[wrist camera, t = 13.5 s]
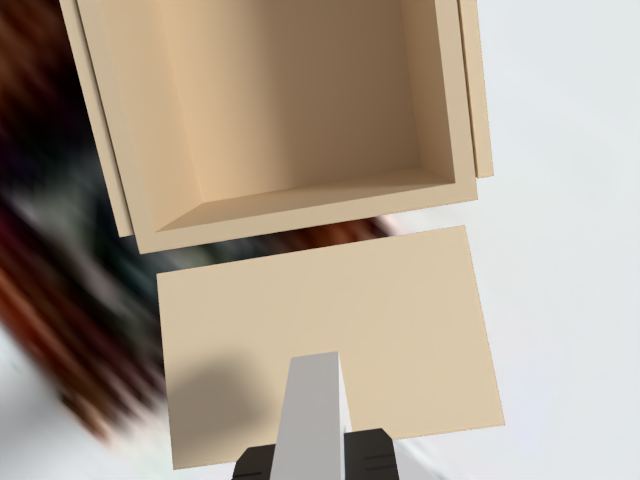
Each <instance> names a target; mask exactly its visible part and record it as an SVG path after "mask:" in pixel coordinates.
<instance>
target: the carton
mask: <svg viewBox="0 0 640 480" xmlns="http://www.w3.org/2000/svg"><path fill="white" fill-rule="evenodd" d="M59 1H60V5H61V9H62V13H63V17H64V21H65V25H66V28H67V32H68V36H69V40H70V44H71V48H72V52H73V56H74V60H75V64H76V68H77V72H78V76H79V80H80V84H81V87H82V91H83V95H84V99H85V103H86V107H87V111H88V115H89V119H90V123H91V127H92V131H93V135H94V139H95V142H96V146H97V150H98V154H99V158H100V162H101V166H102V170H103V174H104V178H105V182H106V186H107V190H108V194H109V198H110V201H111V205H112V209H113V213H114V217H115V221H116V225H117V229H118V233H119V237H124V236H130V235H134V234H135V236H136V240H137V244H138V248H139V252H140V254H145V253H151V252H157V251H163V250H169V249H176V248H182V247H188V246H194V245H200V244H207V243H213V242H219V241H225V240H231V239H238V238H244V237H250V236H256V235H262V234H269V233H275V232H281V231H287V230H293V229H299V228H306V227H312V226H318V225H324V224H330V223H337V222H343V221H349V220H355V219H361V218H368V217H374V216H380V215H386V214H392V213H399V212H405V211H411V210H417V209H423V208H430V207H436V206H442V205H448V204H454V203H461V202H467V201H473V200H478V195H477V186H476V177H477V178H484V177H490V176H494V172H493V162H492V152H491V142H490V132H489V121H488V111H487V101H486V91H485V81H484V71H483V61H482V51H481V41H480V30H479V20H478V10H477V0H59Z"/></svg>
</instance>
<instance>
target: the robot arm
mask: <svg viewBox="0 0 640 480" xmlns="http://www.w3.org/2000/svg"><path fill="white" fill-rule="evenodd" d="M231 480H399V475H398V470H397V464H396V458H395V453H394V447H393V442H392V438H391V437H390V436H389V435H388V434H387V433H386V432H385V431H384V430H383V429H382V428H377V429H370V430H362V431H355V432H352V426H351V421H350V415H349V409H348V403H347V398H346V392H345V386H344V380H343V375H342V369H341V363H340V358H339V352H338V351H334V352H327V353H320V354H313V355H306V356H299V357H292V358H291V361H290V366H289V372H288V378H287V384H286V389H285V395H284V401H283V406H282V412H281V418H280V424H279V429H278V435H277V441H276V444H270V445H263V446H255V447H248V448H247V449H246V450H245V452H244V453H243V454H242V455H241V456H240V458H239V459H238V460H237V462H236V465H235V469H234V472H233V479H231Z"/></svg>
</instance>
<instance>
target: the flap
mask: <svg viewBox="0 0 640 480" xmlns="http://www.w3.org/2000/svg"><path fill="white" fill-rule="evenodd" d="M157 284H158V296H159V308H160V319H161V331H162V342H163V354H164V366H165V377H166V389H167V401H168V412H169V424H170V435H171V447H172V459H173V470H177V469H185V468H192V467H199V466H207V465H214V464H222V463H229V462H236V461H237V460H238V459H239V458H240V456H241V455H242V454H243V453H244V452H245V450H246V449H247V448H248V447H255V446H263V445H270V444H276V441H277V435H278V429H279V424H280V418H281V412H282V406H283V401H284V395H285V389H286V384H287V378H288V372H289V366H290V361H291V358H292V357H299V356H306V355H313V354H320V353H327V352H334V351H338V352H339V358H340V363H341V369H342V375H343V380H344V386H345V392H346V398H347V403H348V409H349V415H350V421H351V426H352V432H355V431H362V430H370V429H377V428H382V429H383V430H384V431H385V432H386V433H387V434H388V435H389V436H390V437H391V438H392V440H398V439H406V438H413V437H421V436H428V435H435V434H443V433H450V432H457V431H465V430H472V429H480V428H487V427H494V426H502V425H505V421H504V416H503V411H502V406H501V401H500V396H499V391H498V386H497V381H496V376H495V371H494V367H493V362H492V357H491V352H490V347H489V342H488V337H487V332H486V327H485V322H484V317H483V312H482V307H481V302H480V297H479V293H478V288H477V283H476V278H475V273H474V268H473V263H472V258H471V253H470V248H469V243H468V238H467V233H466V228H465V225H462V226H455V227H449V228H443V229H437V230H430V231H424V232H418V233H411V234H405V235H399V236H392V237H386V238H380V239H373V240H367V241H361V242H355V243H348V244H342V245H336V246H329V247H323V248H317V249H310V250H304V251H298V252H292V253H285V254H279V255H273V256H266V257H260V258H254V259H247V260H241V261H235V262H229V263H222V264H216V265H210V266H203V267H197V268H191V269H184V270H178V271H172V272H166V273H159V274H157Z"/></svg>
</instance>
